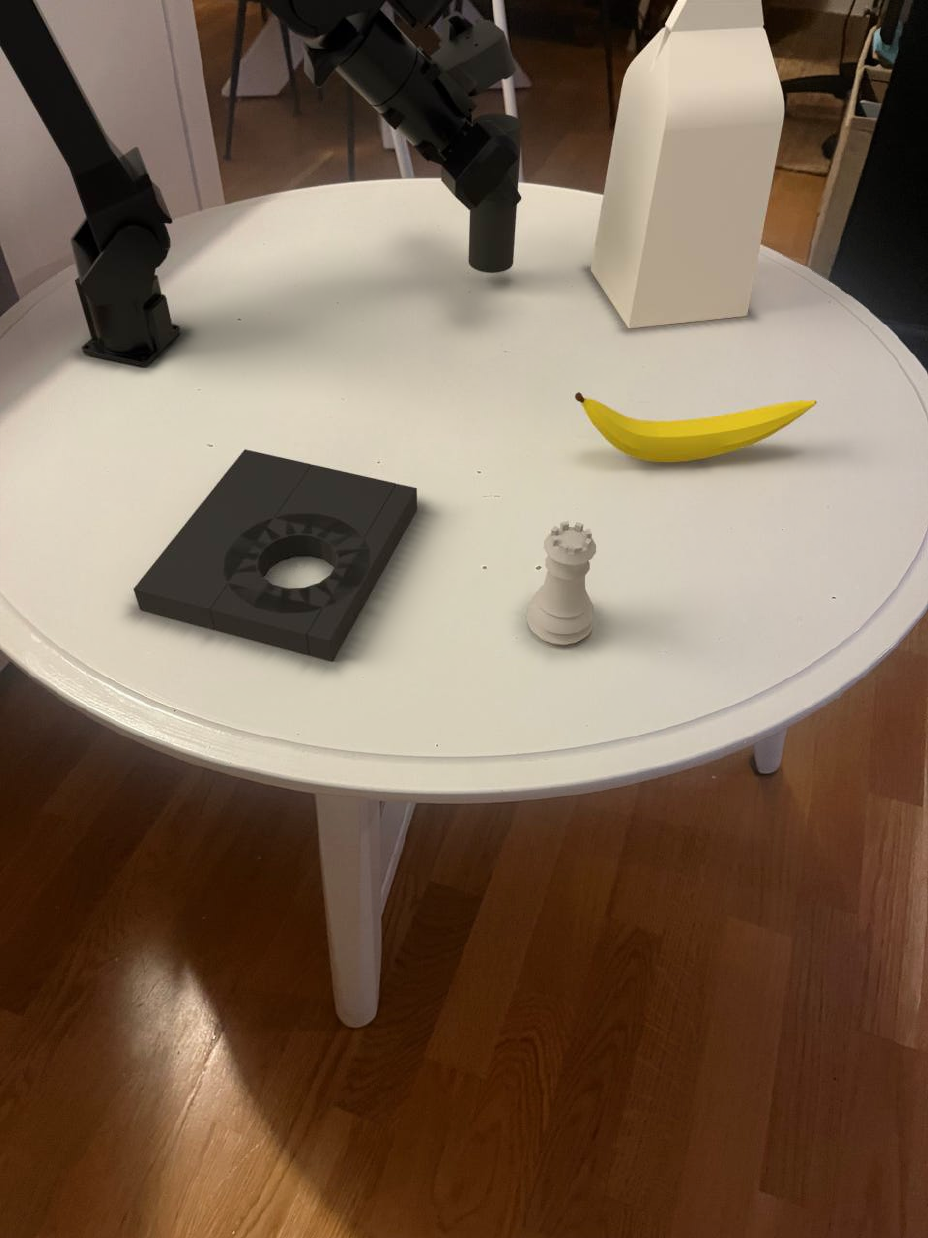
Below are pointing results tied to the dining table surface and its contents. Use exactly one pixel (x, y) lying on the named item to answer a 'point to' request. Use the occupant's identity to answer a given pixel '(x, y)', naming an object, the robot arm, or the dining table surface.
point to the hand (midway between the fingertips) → (507, 191)
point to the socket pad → (279, 552)
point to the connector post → (495, 213)
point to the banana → (690, 431)
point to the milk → (691, 168)
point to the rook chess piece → (564, 587)
